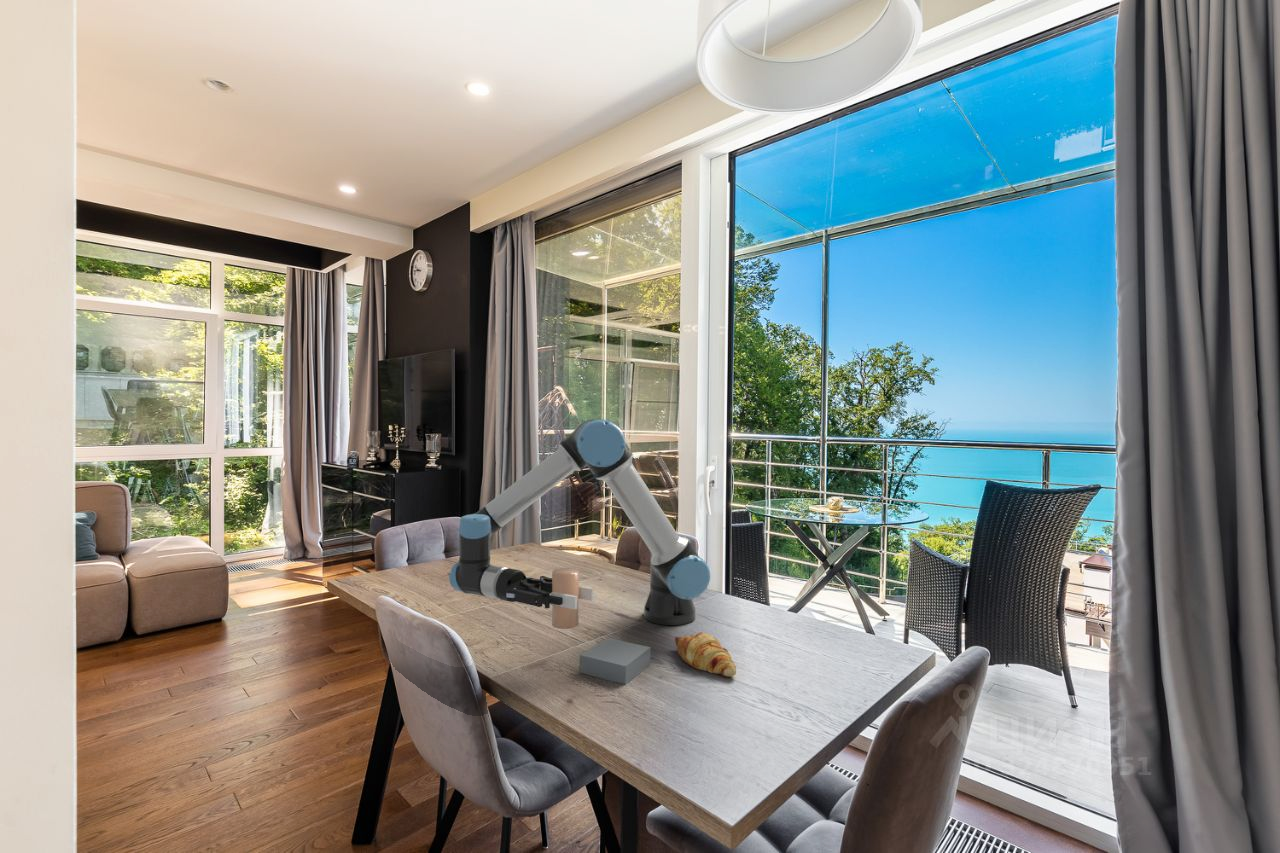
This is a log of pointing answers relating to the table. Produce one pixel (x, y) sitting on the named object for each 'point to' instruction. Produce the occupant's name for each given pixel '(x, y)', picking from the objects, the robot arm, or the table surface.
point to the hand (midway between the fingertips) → (584, 598)
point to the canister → (565, 584)
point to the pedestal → (615, 660)
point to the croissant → (705, 654)
